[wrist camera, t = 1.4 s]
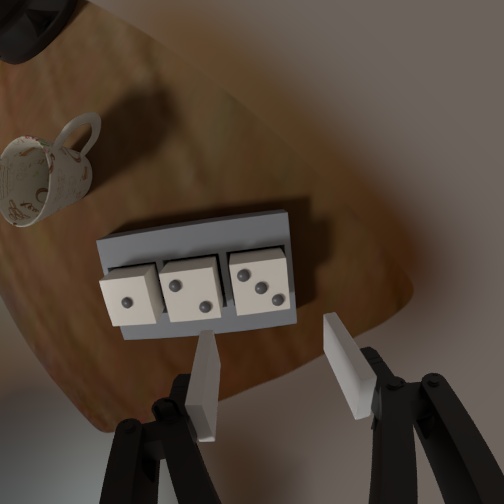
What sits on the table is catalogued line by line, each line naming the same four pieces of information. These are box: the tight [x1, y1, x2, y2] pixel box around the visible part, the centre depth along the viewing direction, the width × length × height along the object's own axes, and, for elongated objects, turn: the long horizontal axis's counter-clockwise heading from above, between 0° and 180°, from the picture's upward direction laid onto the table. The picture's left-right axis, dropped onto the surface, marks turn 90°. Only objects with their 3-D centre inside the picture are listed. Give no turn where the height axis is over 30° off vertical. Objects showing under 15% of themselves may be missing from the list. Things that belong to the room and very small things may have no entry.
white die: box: [159, 256, 223, 322], centre depth 27 cm, size 5×5×4 cm
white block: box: [99, 264, 165, 326], centre depth 27 cm, size 5×5×4 cm
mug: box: [0, 112, 101, 227], centre depth 23 cm, size 8×13×10 cm, turn 136°
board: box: [96, 209, 297, 340], centre depth 30 cm, size 12×20×3 cm, turn 97°
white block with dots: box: [229, 247, 290, 316], centre depth 28 cm, size 5×5×4 cm
